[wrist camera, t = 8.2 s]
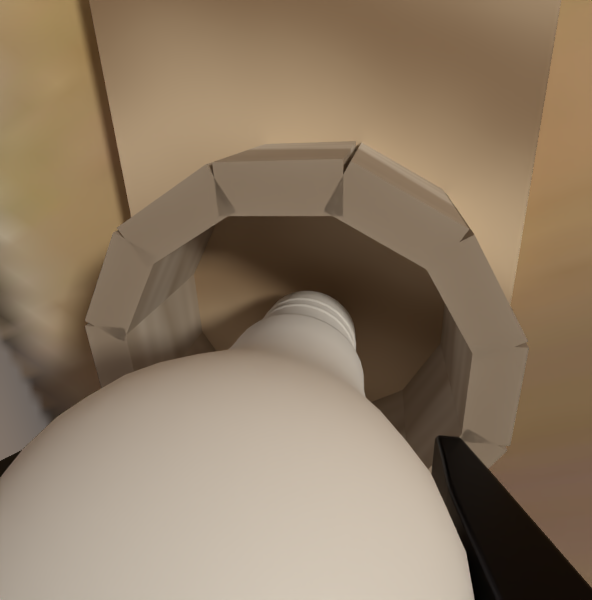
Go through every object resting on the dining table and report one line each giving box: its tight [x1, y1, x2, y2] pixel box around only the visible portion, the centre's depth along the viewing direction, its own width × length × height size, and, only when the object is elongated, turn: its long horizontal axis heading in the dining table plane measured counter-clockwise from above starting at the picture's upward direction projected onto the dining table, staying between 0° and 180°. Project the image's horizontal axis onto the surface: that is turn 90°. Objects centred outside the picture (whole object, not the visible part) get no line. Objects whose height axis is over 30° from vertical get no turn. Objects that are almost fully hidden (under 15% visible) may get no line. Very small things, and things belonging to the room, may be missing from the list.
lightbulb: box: [0, 291, 475, 600], centre depth 8 cm, size 6×6×11 cm
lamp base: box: [85, 0, 561, 473], centre depth 12 cm, size 19×11×5 cm, turn 2°
